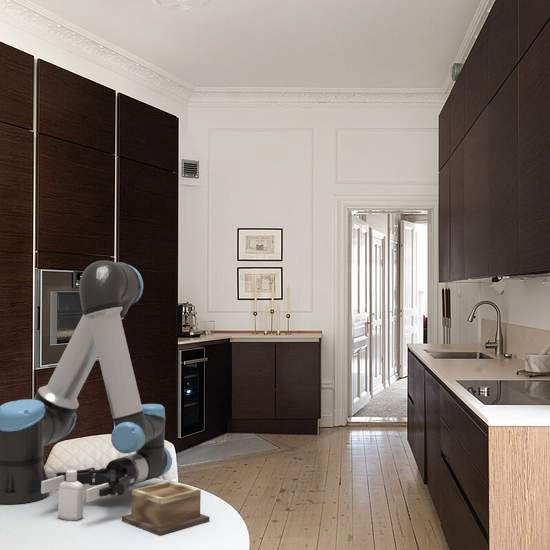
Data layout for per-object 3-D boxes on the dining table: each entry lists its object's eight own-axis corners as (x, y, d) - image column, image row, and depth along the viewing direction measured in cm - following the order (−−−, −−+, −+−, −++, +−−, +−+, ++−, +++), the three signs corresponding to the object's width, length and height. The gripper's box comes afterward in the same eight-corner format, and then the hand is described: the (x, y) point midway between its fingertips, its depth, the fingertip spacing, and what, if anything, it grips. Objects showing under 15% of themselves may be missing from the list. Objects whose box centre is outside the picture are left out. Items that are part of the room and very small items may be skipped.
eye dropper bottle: (66, 522, 155) (67, 468, 156) (56, 516, 159) (57, 464, 160) (84, 519, 158) (86, 465, 158) (74, 513, 162) (75, 461, 163)
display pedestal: (121, 521, 157) (122, 489, 157) (170, 508, 167) (171, 478, 168) (159, 535, 147) (160, 502, 148) (209, 521, 158) (210, 490, 158)
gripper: (165, 493, 170) (106, 517, 151) (87, 480, 181) (24, 500, 162) (166, 462, 170) (107, 482, 151) (88, 451, 181) (25, 468, 163)
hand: (64, 491), depth 157 cm, fingers open, 13 cm apart
